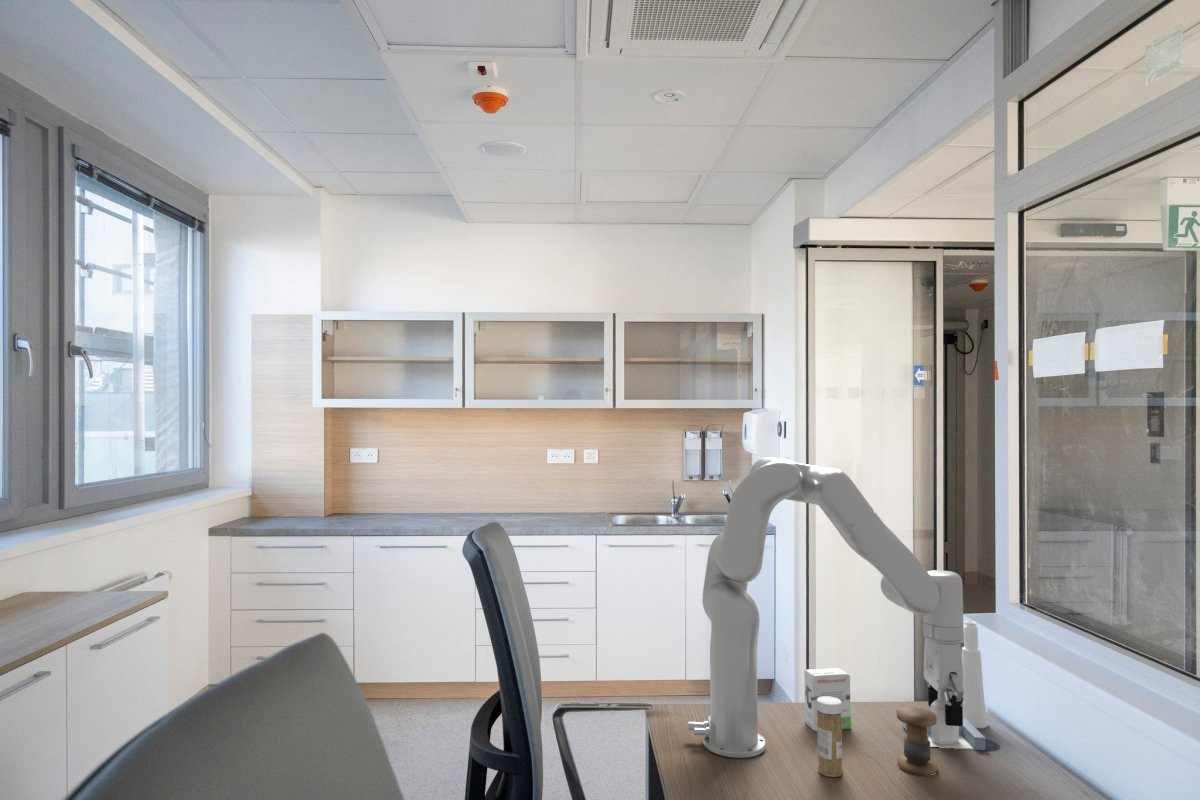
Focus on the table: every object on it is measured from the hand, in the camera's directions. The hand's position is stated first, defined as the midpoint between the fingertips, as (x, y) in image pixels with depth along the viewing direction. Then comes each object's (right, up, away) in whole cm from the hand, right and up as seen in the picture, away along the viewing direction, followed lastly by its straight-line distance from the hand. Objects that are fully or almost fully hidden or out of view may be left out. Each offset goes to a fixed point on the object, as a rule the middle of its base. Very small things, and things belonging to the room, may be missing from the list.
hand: (945, 715), depth 149 cm
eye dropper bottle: (0, -5, 0) cm, 5 cm away
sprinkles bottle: (-28, -5, -14) cm, 32 cm away
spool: (-11, -5, -11) cm, 16 cm away
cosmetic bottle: (+11, -6, +9) cm, 15 cm away
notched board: (0, -5, +1) cm, 6 cm away
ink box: (-22, -6, +8) cm, 24 cm away
